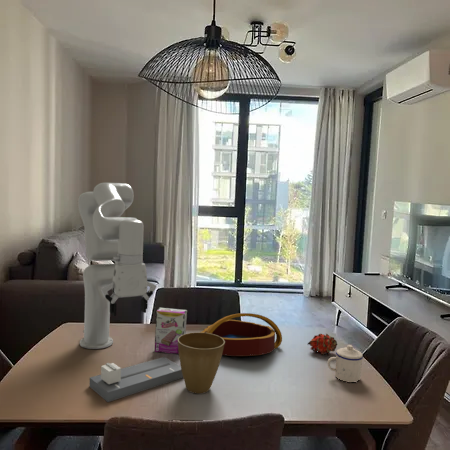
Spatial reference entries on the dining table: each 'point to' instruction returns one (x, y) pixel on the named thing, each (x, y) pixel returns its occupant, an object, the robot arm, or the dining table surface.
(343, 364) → the teacup with lid
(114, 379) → the fader knob
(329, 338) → the dragon fruit
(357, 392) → the dining table surface
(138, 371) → the fader panel
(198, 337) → the plant pot
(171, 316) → the candy bar box
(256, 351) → the decorative basket
